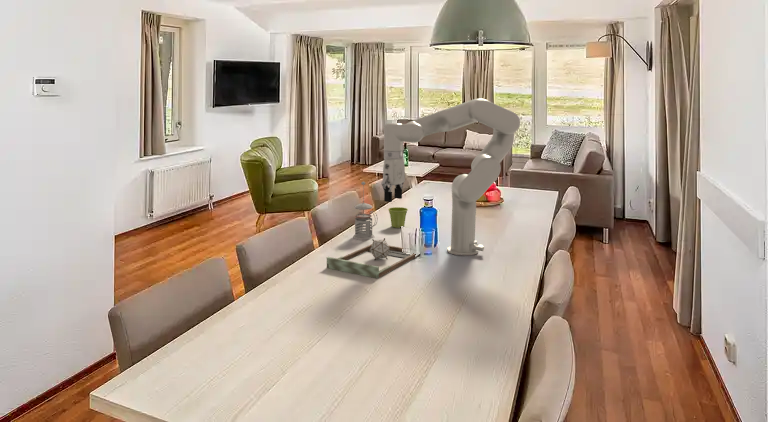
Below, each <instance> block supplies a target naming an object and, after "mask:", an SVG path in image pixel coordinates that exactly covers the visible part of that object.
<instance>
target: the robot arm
mask: <svg viewBox="0 0 768 422" xmlns="http://www.w3.org/2000/svg"><path fill="white" fill-rule="evenodd" d="M477 122H479V123H480V124H482V125H485V126H487V127H489V128H491V129H493V131H492V136H491V138H490V139H489V142H488V143H487V144H486V145H485V146H484V147H483V148H482V150H481V151H480V152H479V153H478V154H476V156H475V158H473V160H472V162H471V166H470V168H471V169H470V170H471V171H470V172H469V173H468V174H467V173H463V174H459V175H457V176H456V177H455V178H454V179H453V181H452V184H451V199H452V200H451V203H452V204H451V206H452V207H451V230H450V231H451V232H450V233H451V234H450V245H449V246H447V248H446V252H447V253H448V254H451V255H454V256H461V257H462V256H463V257H464V256H465V257H467V256H468V257H469V256H473V255H474V256H475V255H477V254H478V253H479V252H484V250H485V247H484V245H483V244H478V240H475V239H476V219H477V217H476V215H477V201H478V200H479V199H481V197H482V196H483V195H484V194H485V193H486V192H487V190H488V189H490V187H491V186H492V185H493V184H494V183H495V182H496V181H497V179H498V178H499V176H500V174H501V170H502V169H501V167H502V166H501V163H502V161H504V160H503V159H504V158H505V157H506V156H507V155H508V153H509V152H510V151H511V149H512V147H513V145H514V140H515V133H516V132H517V131H518V130H519V128H520V126H521V120H520V117H519V115H518V114H517V113H515V112H513V111H511V110H510V109H507V108H505V107H502V106H501V105H499V104H495V103H494V102H492V101H490V100H488V99H484V98H475V99H474V98H473V99H471V100H468V101H465V102H462V103H460V104H457V105H455V106H451V107H448V108H446V109H442V110H440V111H437V112H435V113H432V114H429V115H426V116H425V115H424V116H422V117H420V118H416V119H414V120H411V121H408V122H407V123H401V122H400V123H399V122H388V123H385V124H384V125H383V126H384V127H383V160H384V161H383V167H382V181H381V186H382V188H383V192H384V193H383V197H384V198H383V199H384V200H383V201H384V202H387V203H391V202H393V194H394V199H400V200H401V199H402V198H403V187H404V186H403V185H404V183H405V181H406V170H405V167H406V166H405V161H404V160H405V159H404V142H406V143H411V144H413V143H414V144H415V143H419V142H421V141H422V139H423V138H424V137H427V136H429V135H433V134H436V133H445V132H452V131H455V130H457V129H460V128H463V127H465V126H468V125H471V124H474V123H477ZM393 187H394V193H393V192H392V188H393Z"/></svg>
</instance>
